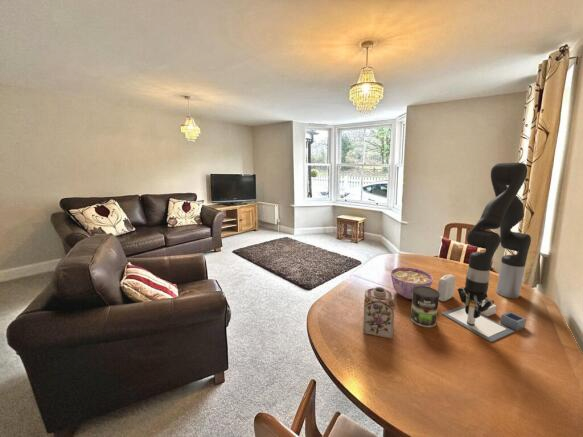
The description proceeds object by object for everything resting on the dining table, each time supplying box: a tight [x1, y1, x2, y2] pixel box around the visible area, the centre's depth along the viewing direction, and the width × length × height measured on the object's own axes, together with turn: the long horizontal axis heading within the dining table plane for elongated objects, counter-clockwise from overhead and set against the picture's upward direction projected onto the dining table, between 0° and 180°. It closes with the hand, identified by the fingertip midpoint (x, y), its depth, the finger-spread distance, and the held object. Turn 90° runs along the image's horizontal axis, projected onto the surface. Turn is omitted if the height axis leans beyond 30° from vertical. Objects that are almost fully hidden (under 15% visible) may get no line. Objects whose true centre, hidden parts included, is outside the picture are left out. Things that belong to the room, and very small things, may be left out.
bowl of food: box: [390, 266, 434, 300], centre depth 132 cm, size 20×20×12 cm
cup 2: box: [499, 311, 527, 332], centre depth 107 cm, size 6×6×4 cm
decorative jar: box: [362, 286, 396, 339], centre depth 106 cm, size 12×12×18 cm
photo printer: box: [437, 273, 456, 302], centre depth 129 cm, size 10×4×12 cm, turn 123°
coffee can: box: [410, 286, 440, 328], centre depth 111 cm, size 10×10×14 cm
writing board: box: [441, 305, 515, 343], centre depth 110 cm, size 15×21×1 cm
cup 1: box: [480, 300, 497, 318], centre depth 117 cm, size 6×6×4 cm
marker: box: [467, 301, 476, 326], centre depth 107 cm, size 3×3×10 cm
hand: (471, 315), depth 107 cm, fingers closed on marker, 2 cm apart
